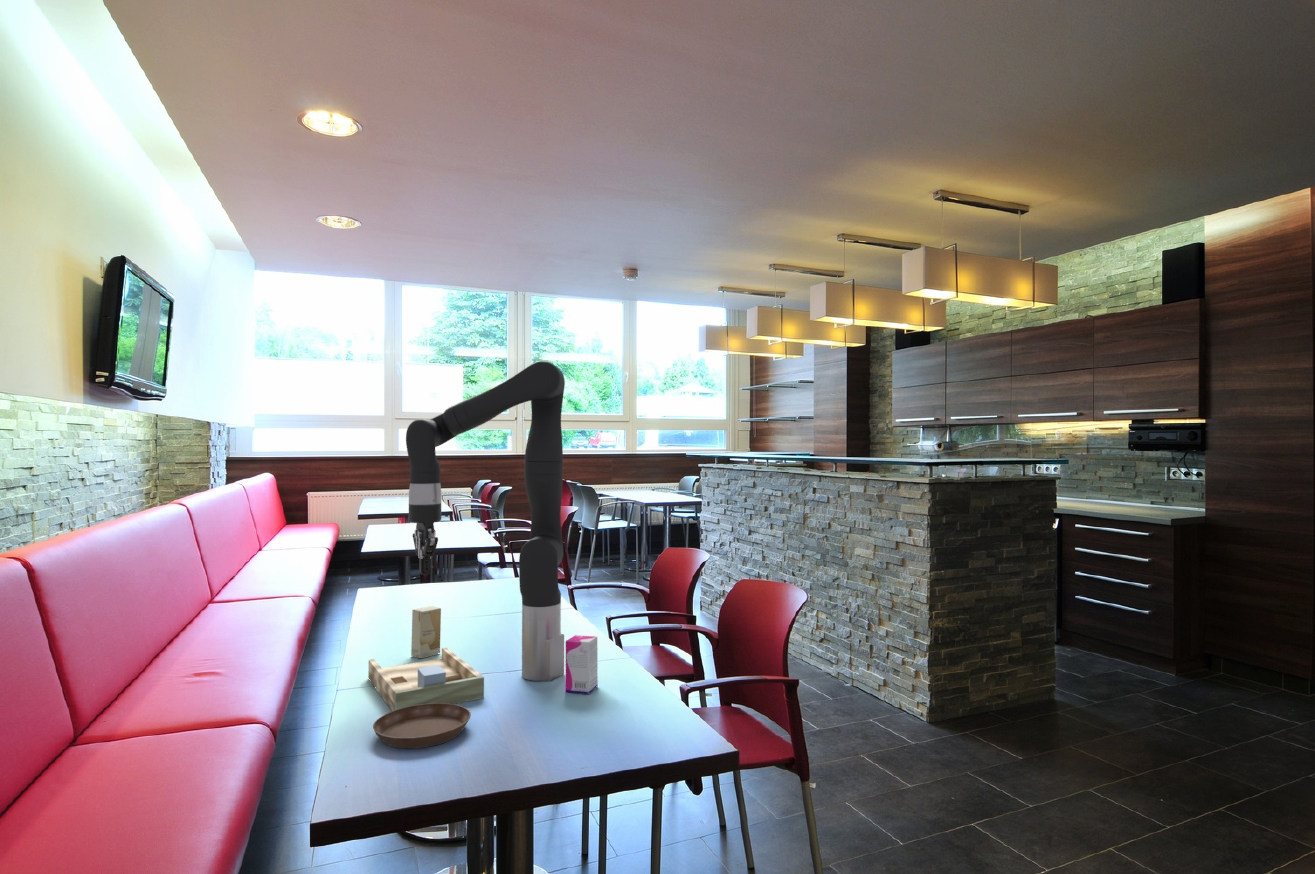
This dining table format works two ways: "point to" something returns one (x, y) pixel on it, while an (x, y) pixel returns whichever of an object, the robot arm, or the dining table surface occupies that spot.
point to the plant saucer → (421, 725)
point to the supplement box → (581, 664)
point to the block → (431, 676)
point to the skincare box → (426, 631)
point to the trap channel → (403, 685)
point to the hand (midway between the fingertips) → (424, 574)
